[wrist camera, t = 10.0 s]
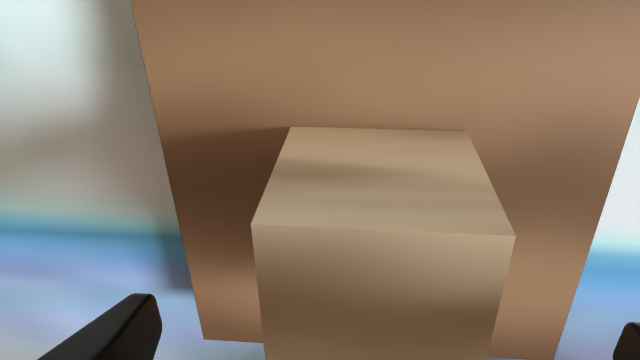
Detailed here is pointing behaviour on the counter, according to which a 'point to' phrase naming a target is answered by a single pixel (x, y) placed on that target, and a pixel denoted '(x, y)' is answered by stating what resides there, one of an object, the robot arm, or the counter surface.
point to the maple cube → (379, 247)
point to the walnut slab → (395, 124)
